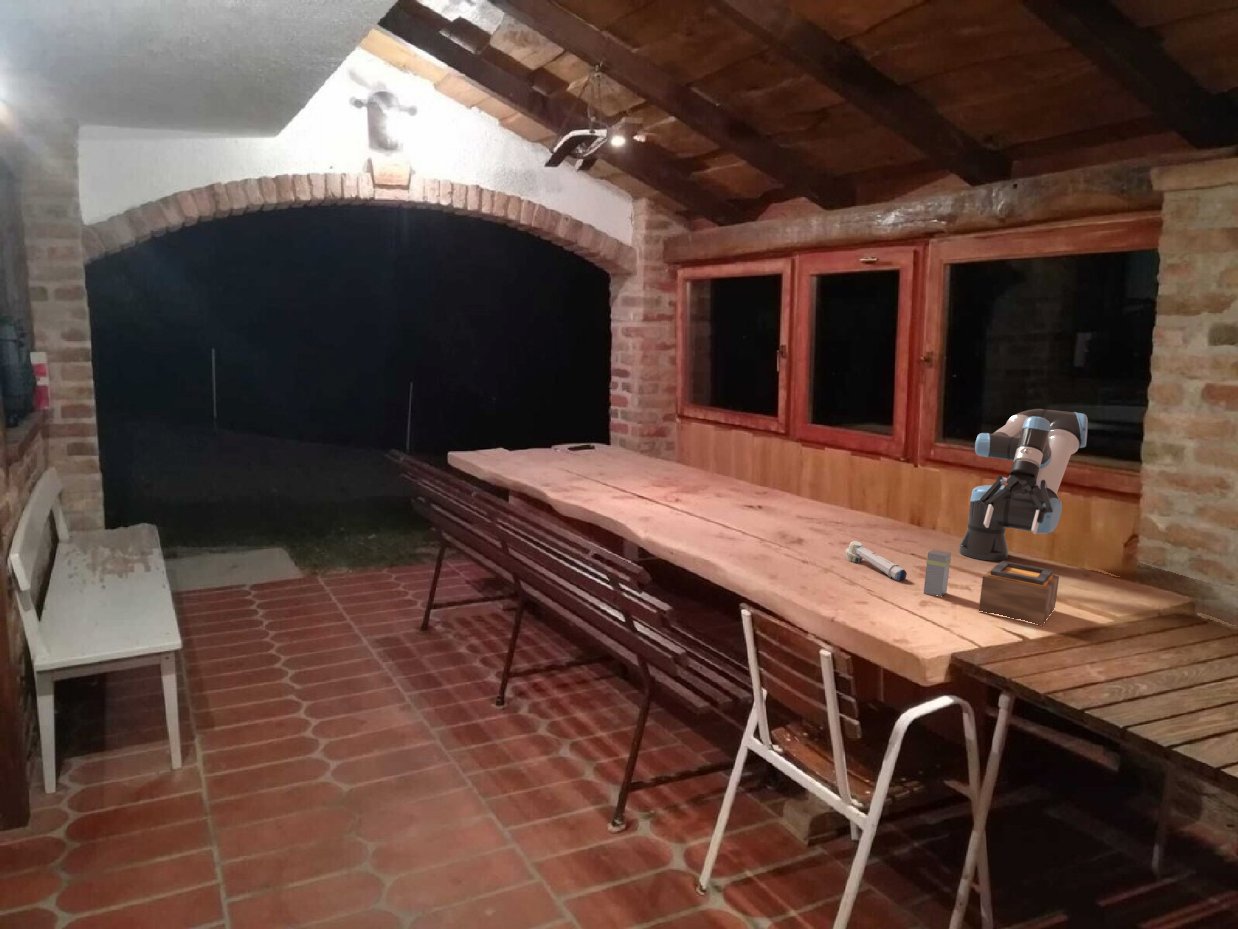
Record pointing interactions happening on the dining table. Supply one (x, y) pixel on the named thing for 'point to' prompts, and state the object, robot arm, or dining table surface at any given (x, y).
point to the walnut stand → (1019, 592)
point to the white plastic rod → (874, 560)
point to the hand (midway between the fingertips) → (1009, 529)
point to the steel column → (937, 572)
